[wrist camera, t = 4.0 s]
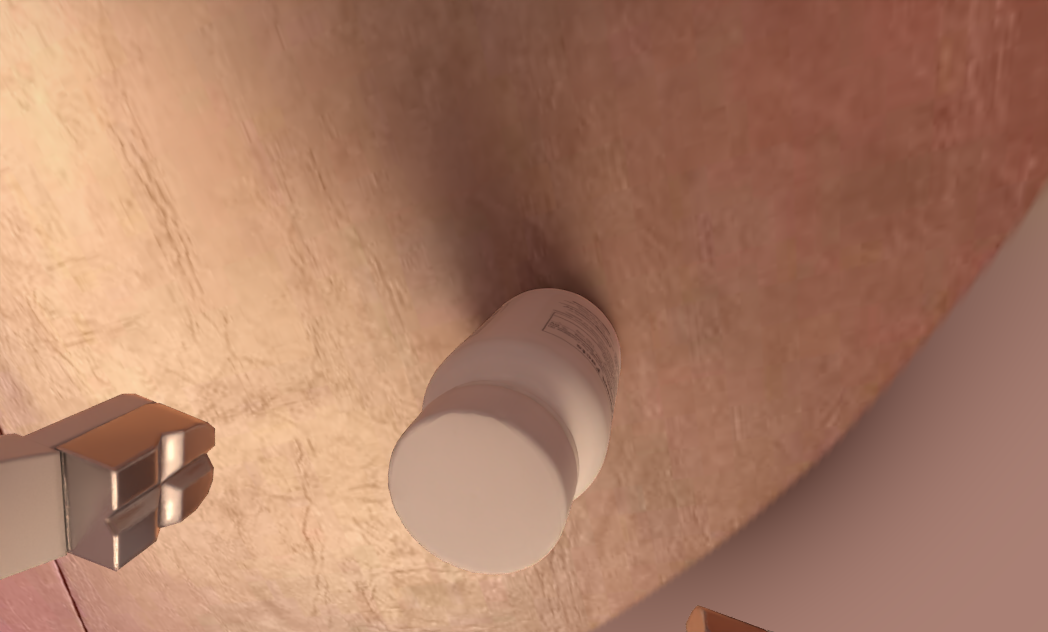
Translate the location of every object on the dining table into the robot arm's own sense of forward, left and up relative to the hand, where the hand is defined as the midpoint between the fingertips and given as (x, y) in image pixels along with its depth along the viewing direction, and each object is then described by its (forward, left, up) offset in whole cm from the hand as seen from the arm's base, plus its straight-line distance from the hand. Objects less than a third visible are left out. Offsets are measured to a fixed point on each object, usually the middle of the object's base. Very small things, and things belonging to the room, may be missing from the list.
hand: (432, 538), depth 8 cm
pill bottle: (0, 0, -9) cm, 9 cm away
